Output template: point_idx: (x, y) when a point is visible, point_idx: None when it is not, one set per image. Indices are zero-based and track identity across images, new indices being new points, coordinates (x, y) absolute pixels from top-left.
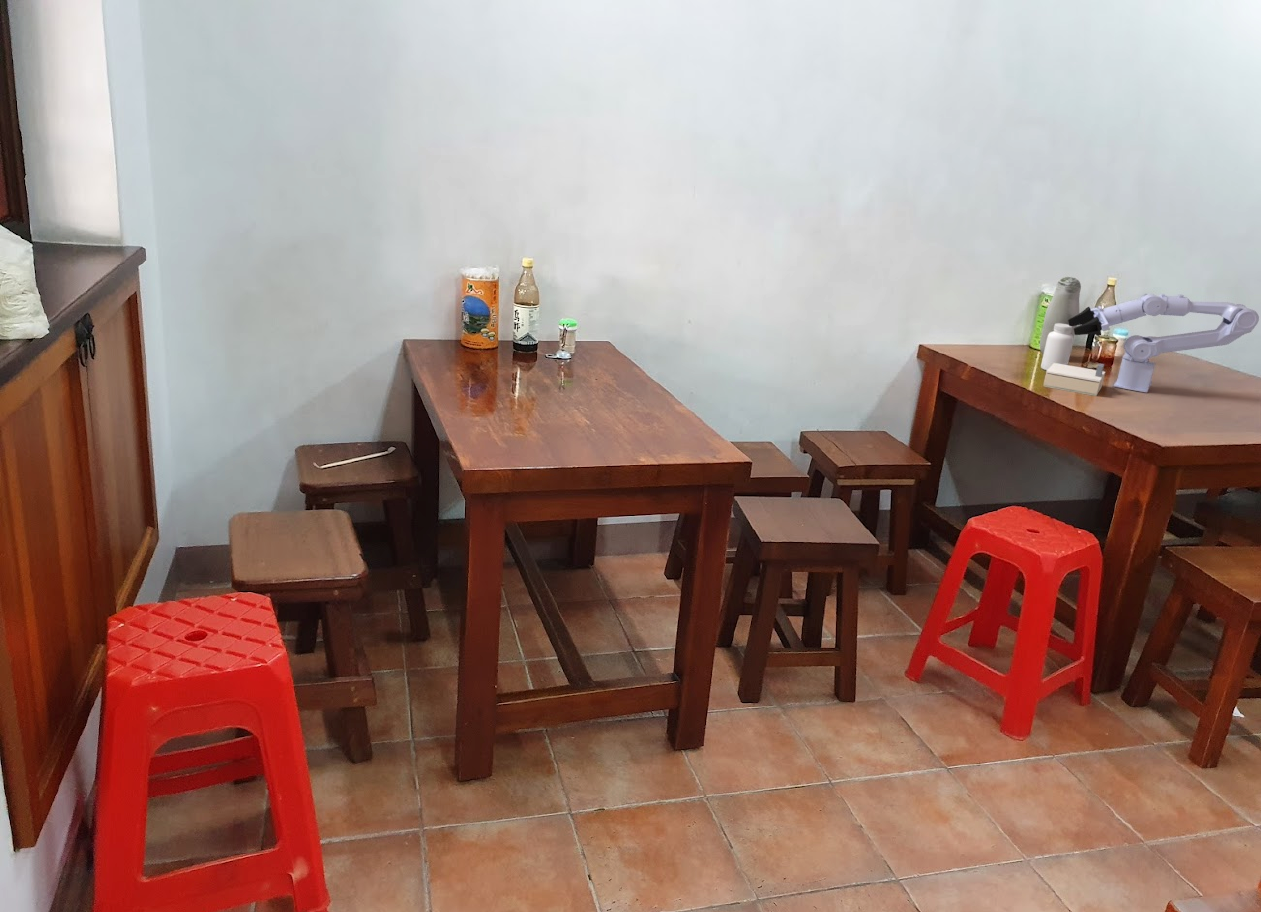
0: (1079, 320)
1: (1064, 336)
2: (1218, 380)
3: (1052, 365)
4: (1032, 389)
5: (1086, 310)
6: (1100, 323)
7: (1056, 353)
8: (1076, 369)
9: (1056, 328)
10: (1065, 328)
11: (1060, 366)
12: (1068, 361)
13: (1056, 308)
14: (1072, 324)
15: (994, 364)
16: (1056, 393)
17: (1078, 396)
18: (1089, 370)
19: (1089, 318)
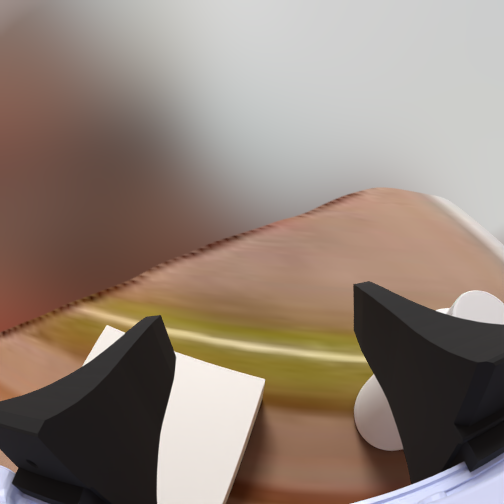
0: (390, 362)
1: None
2: None
3: (207, 366)
4: (86, 316)
5: (465, 345)
6: (41, 485)
7: (378, 385)
8: (176, 449)
9: (450, 308)
10: None
11: (204, 394)
12: (401, 444)
13: None
14: (359, 336)
15: (339, 264)
16: (60, 366)
17: None
18: (185, 502)
19: (425, 440)
